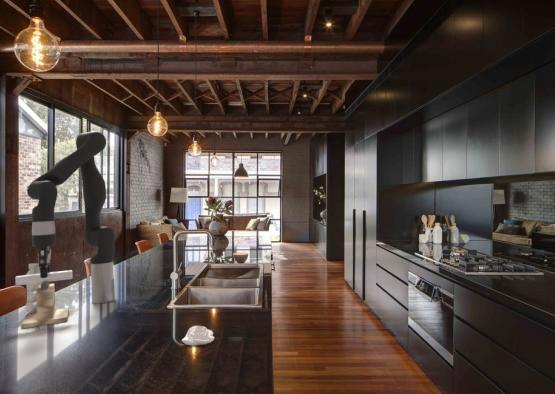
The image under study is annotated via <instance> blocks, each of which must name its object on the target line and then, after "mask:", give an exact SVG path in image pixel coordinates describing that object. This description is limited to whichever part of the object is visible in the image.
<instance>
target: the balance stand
mask: <svg viewBox="0 0 555 394" xmlns="http://www.w3.org/2000/svg"><path fill="white" fill-rule="evenodd" d="M55 290H56V288H55V283H51V282H42V284H41V285H39V287H38V288H37V290H36V300H37V313H27V314H26V315H25V318H24V319H23V321H22V323H21V324H20V326H21V329H22V330H23V329H28V328H33V327H34V328H35V327H39V326H40V327H41V326H46V325H51V324H59V323H65V322H68V319H69V313H70V307H69V308H60V309H56V291H55Z"/></svg>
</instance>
